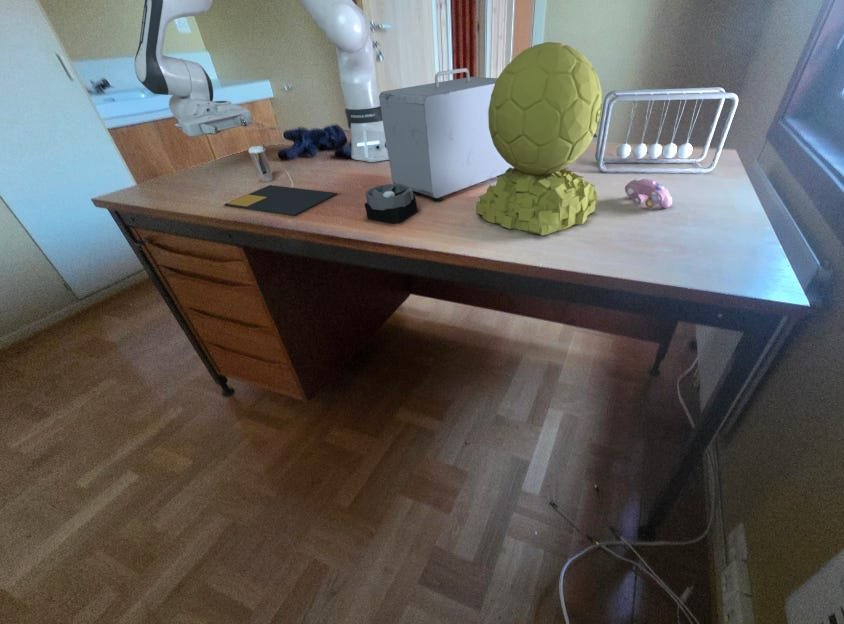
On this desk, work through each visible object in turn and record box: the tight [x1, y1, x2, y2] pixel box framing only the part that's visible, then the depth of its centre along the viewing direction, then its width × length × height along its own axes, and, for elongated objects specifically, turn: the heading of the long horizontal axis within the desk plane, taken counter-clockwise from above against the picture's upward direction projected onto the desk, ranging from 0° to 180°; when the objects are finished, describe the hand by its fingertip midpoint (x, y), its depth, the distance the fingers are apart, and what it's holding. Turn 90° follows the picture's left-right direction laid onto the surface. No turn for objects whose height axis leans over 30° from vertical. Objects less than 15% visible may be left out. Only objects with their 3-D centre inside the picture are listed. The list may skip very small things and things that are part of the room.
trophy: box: [475, 41, 603, 236], centre depth 77 cm, size 22×22×30 cm
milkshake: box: [248, 142, 274, 183], centre depth 113 cm, size 5×5×10 cm
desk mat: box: [224, 184, 338, 217], centre depth 102 cm, size 24×16×1 cm, turn 66°
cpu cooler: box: [364, 183, 418, 224], centre depth 89 cm, size 10×6×10 cm
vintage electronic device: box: [379, 67, 514, 202], centre depth 99 cm, size 32×18×25 cm, turn 134°
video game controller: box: [624, 177, 673, 209], centre depth 86 cm, size 10×5×7 cm, turn 36°
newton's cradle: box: [594, 86, 739, 174], centre depth 103 cm, size 30×10×18 cm, turn 80°
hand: (231, 126), depth 114 cm, fingers open, 8 cm apart
